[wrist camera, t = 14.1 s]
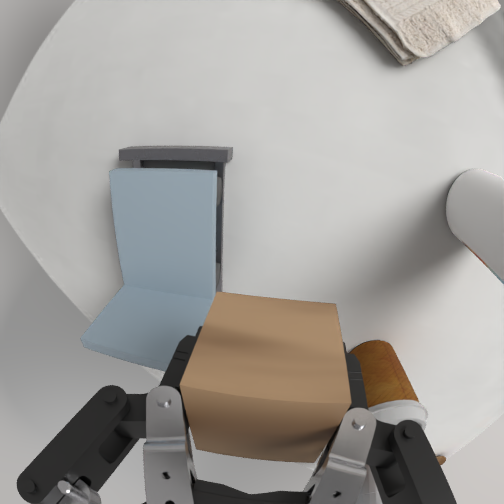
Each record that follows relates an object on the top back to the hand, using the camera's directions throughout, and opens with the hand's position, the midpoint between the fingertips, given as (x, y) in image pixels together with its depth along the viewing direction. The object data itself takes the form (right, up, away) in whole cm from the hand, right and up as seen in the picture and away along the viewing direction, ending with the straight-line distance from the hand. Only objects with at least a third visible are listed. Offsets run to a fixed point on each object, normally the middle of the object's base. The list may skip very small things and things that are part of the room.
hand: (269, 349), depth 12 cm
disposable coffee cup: (+14, -9, +20) cm, 26 cm away
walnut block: (0, 0, +1) cm, 1 cm away
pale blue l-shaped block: (-8, +7, +15) cm, 18 cm away
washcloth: (+14, +29, +1) cm, 32 cm away
